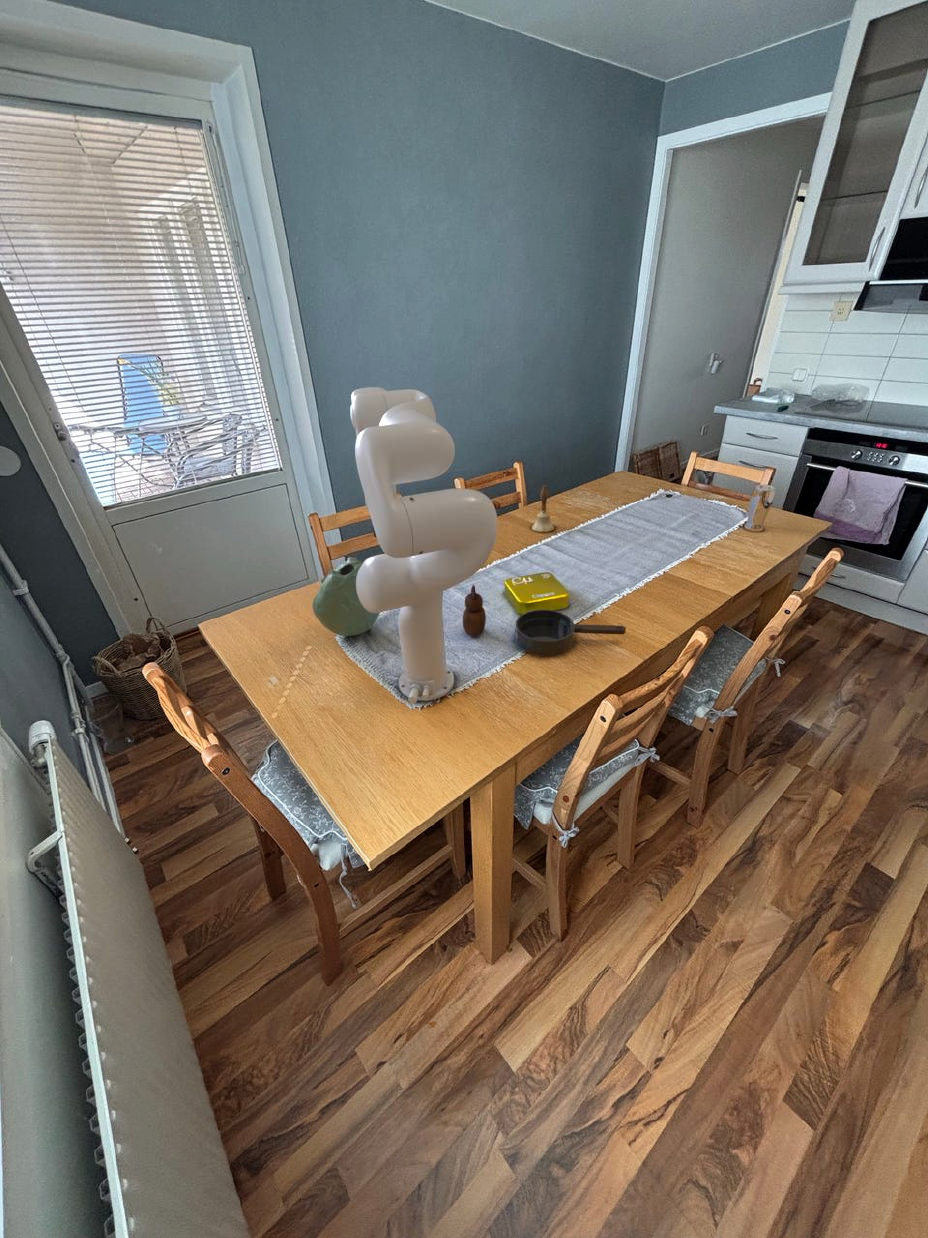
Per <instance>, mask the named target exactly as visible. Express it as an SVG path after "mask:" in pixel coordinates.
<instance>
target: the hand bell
mask: <svg viewBox="0 0 928 1238" xmlns="http://www.w3.org/2000/svg"><path fill="white" fill-rule="evenodd" d="M548 497H549V492H548V486H547V485H542V488H541V491H540V501H541V508H540V512H539V513H537V515H536V520H535V522H534V523H533V524H532V526H531V529H532V530H533V531H534V532H536V533H549V532H552V531H553V530H555V527H554V524H552V522H551V517H550V514H549V513H548V512H547V501H548Z"/></svg>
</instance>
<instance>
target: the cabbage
mask: <svg viewBox="0 0 928 1238" xmlns="http://www.w3.org/2000/svg"><path fill="white" fill-rule="evenodd" d="M363 563H364V561H361V560H358V559H357V557H354V556H351V557H347V560H346V562H344V563H342V564H340V565H339V566H337V567H334V568H333V569H331V570H329V572H328V574H327V576H323V579H322V578H321V579H320V583H321V585H320V586H319V589H318V590H317V592H316V594H315V596H314V597H313V600H312V612H313V615H314V616H315V617H316V619H317V620H318V621H319V622H320V624H322V626H323V627H324V628H325V629H327V630H328V631H330V632H332V633H334V634H335V635H338V636H342V637H354V636H360V635H363V634H364V633H366V632H367V631H369V630H371V628H373V626H374V624H375V623H376V622H377V619H378V618H379V616H380V614H381V612H380V613H370V612H368V611H367V610H366V609H365V608H364V607H363V605H362V604H361V602H360V600H359V598H358V595H357V590H356V578H357V574H358V571H359V569H360V567H361V566H362V564H363Z"/></svg>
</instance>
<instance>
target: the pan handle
mask: <svg viewBox="0 0 928 1238" xmlns="http://www.w3.org/2000/svg"><path fill="white" fill-rule="evenodd" d="M574 625H575V632H574V634H593V635H625V634H626V632H627V627H626V626H624V625H613V624H612V625H611V624H610V625H609V624H607V625H606V624H581V623H580V624H577V623H576V624H575V623H574Z"/></svg>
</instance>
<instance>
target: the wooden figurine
mask: <svg viewBox="0 0 928 1238" xmlns="http://www.w3.org/2000/svg"><path fill="white" fill-rule="evenodd" d="M483 600H484V599H483V597H482V595H481V594H480V593H477V592H476V585H474V584H472V586H471V588H470V593H468V594H467V595H465V598H464V607H465V609H464V610H463V614H462V627H463V630H464V632H465V634H466V635H467V636H470V637H472V638H476V637H479V636H481V635H482V634H483V633H484V632H485V631H484V630H485V627H486V620H487V615H486V610H485V608H484V607H483V606H484V601H483Z"/></svg>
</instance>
